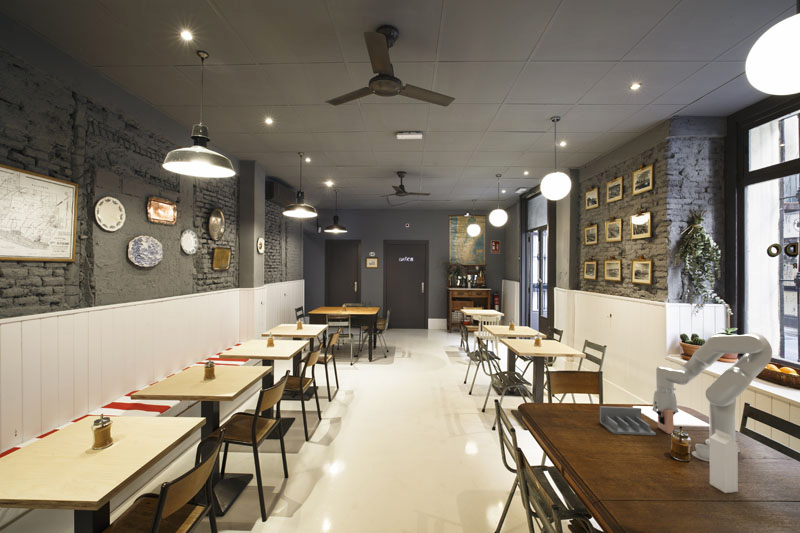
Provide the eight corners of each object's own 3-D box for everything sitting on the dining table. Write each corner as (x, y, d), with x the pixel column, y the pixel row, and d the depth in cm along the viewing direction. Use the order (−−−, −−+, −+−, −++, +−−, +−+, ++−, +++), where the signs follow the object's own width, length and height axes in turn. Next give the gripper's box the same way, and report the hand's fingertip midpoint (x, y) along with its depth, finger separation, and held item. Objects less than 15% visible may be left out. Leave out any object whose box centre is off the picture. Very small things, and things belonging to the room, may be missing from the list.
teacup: (725, 464, 158) (725, 453, 158) (700, 461, 160) (700, 451, 160) (710, 453, 168) (710, 443, 168) (686, 451, 170) (686, 441, 170)
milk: (721, 483, 144) (721, 428, 144) (738, 492, 138) (738, 435, 138) (709, 484, 143) (709, 429, 143) (725, 493, 137) (725, 435, 137)
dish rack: (656, 435, 186) (656, 417, 186) (612, 433, 188) (612, 416, 188) (639, 424, 200) (639, 407, 200) (599, 422, 202) (599, 406, 202)
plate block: (673, 433, 188) (673, 411, 188) (667, 433, 188) (667, 410, 189) (663, 427, 196) (663, 405, 196) (657, 427, 196) (657, 405, 196)
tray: (631, 407, 227) (631, 405, 227) (675, 408, 226) (675, 406, 226) (661, 426, 199) (661, 423, 199) (712, 427, 198) (712, 425, 198)
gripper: (675, 387, 196) (676, 421, 195) (645, 387, 197) (645, 420, 197) (685, 392, 188) (686, 427, 188) (653, 391, 190) (654, 425, 189)
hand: (665, 423), depth 192 cm, fingers closed on plate block, 3 cm apart
